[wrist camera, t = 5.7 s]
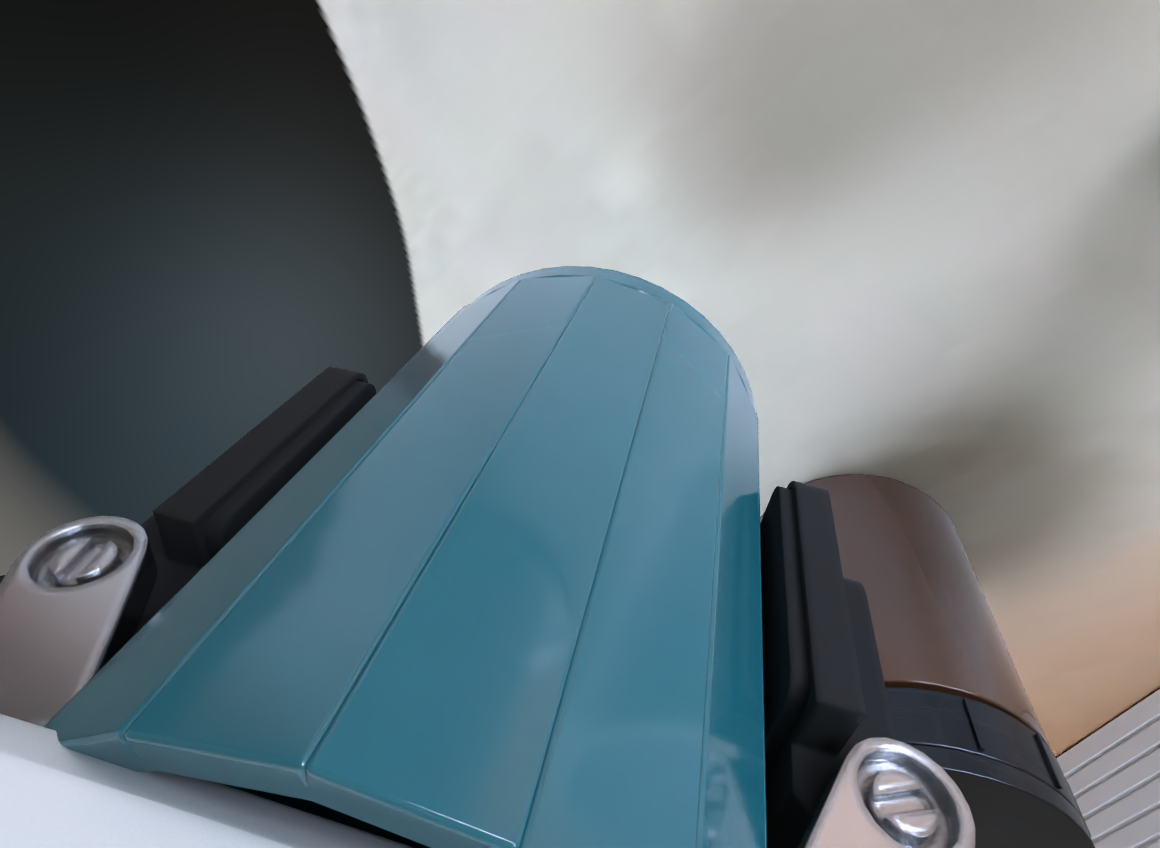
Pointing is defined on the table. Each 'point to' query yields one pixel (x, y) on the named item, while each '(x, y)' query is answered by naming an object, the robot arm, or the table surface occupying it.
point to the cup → (488, 597)
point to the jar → (923, 594)
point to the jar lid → (993, 769)
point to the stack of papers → (1120, 778)
